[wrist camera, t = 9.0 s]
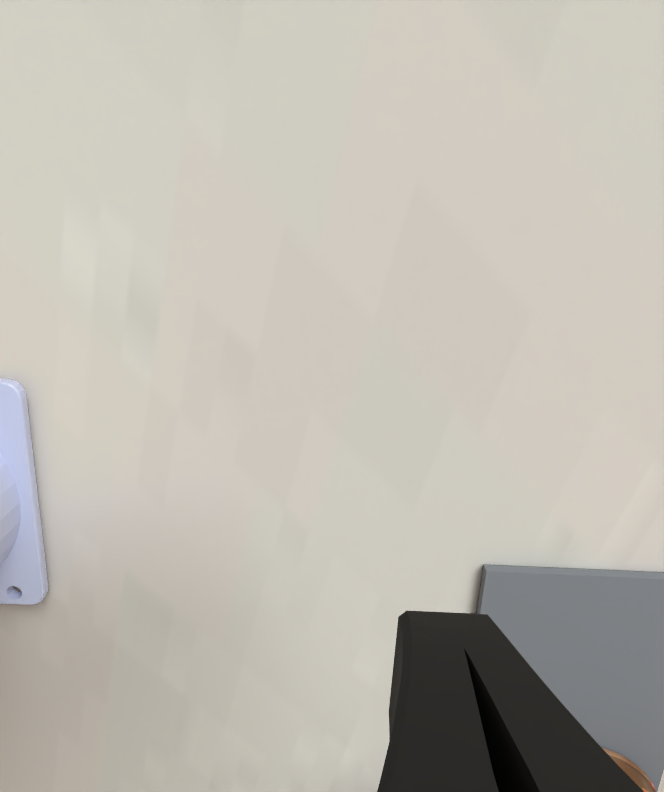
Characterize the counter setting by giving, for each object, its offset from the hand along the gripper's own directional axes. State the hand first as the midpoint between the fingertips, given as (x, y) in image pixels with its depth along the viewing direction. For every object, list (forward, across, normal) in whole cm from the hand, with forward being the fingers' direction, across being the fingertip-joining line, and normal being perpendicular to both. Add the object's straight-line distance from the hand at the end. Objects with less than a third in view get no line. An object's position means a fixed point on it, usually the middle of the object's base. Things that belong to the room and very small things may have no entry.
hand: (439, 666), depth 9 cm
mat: (+10, -8, +14) cm, 19 cm away
